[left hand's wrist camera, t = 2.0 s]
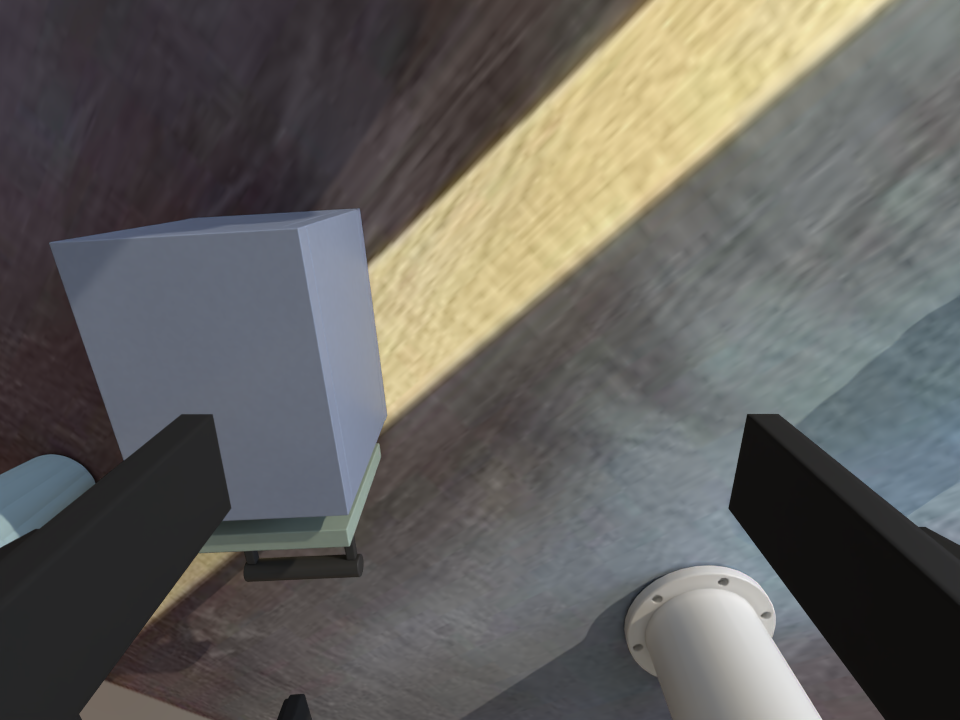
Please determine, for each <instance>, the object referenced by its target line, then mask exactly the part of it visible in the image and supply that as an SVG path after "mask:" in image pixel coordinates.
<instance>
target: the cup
mask: <svg viewBox="0 0 960 720" xmlns="http://www.w3.org/2000/svg"><path fill="white" fill-rule="evenodd" d="M94 484H95V481H94V479H93V477H92V475H91V474H90V473H89V472H88V471H87V469H86V468H84V467H83V466H82V465H81V464H79V463H78V462H76V461H74V460H72V459H70V458H68V457H65V456H61V455H55V454H48V455H42V456H38V457H36V458H33V459H31V460H29V461H27V462H25V463H23V464H21V465H19V466H17V467H15V468H13V469H11V470H9V471H7V472H5V473H3V474H1V475H0V548H1V547H2V546H4V545H6V544H8V543H10V542H12V541H14V540H15V539H17V538H19V537H21V536H23V535H25V534H27V533H29V532H30V531H32V530H34V529H40V528H41V527H42V526H44V525H45V524H46V523H47V522H48V521H50V520H51V519H52V518H53V517H55V516H56V515H57V514H58V513H60V512H61V511H62V510H63V509H65V508H66V507H67V506H68V505H70V504H71V503H72V502H73V501H74V500H76V499H77V498H78V497H79V496H81V495H82V494H83V493H84V492H86V491H87V490H88V489H89V488H91V487H92V486H93V485H94Z"/></svg>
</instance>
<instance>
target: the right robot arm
mask: <svg viewBox="0 0 960 720" xmlns="http://www.w3.org/2000/svg"><path fill="white" fill-rule="evenodd" d="M774 629H775V611H774V608H773V604H772V603H771V601H770V599H769V598H768V596H767V594H766V593H765V592H764V590H763V589H762V588H761V586H760V585H759V584H758V583H757V582H756V581H754V580H753V579H752V578H751V577H749V576H748V575H746V574H744V573H742V572H740V571H737V570H734V569H730V568H727V567H720V566H694V567H689V568H684V569H680V570H677V571H674V572H671V573H669V574H667V575H665V576H663V577H661V578H659V579H657V580H655V581H654V582H653V583H651V584H650V585H649V586H647V587H646V588H645V589H644V590H643V591H642V592H641V593H640V594H639V595H638V596H637V597H636V598H635V600H634V601H633V603H632V604H631V606H630V607H629V610H628V613H627V615H626V618H625V626H624V631H625V638H626V642H627V645H628V648H629V651H630V653H631V655H632V656H633V658H634V660H635V661H636V662H637V663H638V664H639V665H640V666H641V668H643V669H644V670H646V671H647V672H648V673H650V674H651V675H654V676H656V677H658V680H659V683H660V685H661V688H662V691H663V694H664V697H665V700H666V703H667V706H668V708H669V711H670V714H671V717H672V720H822V718H821V717H820V715H819V714H818V712H817V710H816V709H815V707H814V706H813V704H812V702H811V701H810V699H809V698H808V696H807V694H806V693H805V691H804V689H803V688H802V686H801V685H800V683H799V681H798V680H797V678H796V677H795V675H794V673H793V672H792V670H791V669H790V667H789V665H788V664H787V662H786V661H785V659H784V657H783V656H782V654H781V652H780V651H779V649H778V648H777V646H776V644H775V643H774V641H773V640H772V636H773V633H774ZM75 720H82V719H81V717H80V715H78V716H77V717H76V719H75ZM277 720H312V718H311V715H310V711H309V708H308V704H307V701H306V697H305V695H304V694H295V695H290V696H289V698H288V699H285V700H284V702H283V705H282V708H281V711H280V713H279V716H278V719H277Z"/></svg>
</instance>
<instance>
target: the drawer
mask: <svg viewBox="0 0 960 720" xmlns="http://www.w3.org/2000/svg"><path fill="white" fill-rule="evenodd" d="M380 458H381V453H380V446H379V443H376V445H375V447H374V450H373V452H372V455H371V458H370V460H369V463H368V465H367V468H366V471H365V473H364V476H363V478H362V481H361V483H360V486H359V489H358V491H357V494H356V496H355V499H354V502H353V504H352V507H351V510H350V512H349V515H343V516H321V517H299V518H277V519H256V520H234V521H222V522H221V523H220V525H219V526H218V527H217V529H216V530H215V531H214V533H213V534H212V535H211V537H210V538H209V539H208V541H207V542H206V543H205V545H204V546H203V547H202V549H201V550H200V551H199V553H215V552H238V551H244V553H245V557H246V561H247V562H246V564H245V567H244V579H245V581H247V582H253V581H276V580H299V579H322V578H345V577H360V576H361V575H362V572H363V556H362V554H357V550H356V544H355V538H354V533H355V530H356V527H357V524H358V521H359V518H360V515H361V513H362V510H363V507H364V504H365V501H366V498H367V495H368V493H369V490H370V487H371V484H372V481H373V478H374V475H375V472H376V470H377V467H378V464H379V461H380ZM327 547H345V552H346V555H325V556H303V557H280V558H259V556H258V552H257V551H260V550H283V549H305V548H327Z"/></svg>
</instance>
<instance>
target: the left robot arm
mask: <svg viewBox="0 0 960 720" xmlns="http://www.w3.org/2000/svg"><path fill="white" fill-rule="evenodd" d="M230 510H231V503H230V498H229V493H228V488H227V483H226V478H225V473H224V468H223V463H222V458H221V453H220V448H219V443H218V438H217V433H216V428H215V423H214V418H213V414H181V415H180V416H179V417H177V418H176V419H175V420H174V421H172V422H171V423H170V424H169V425H167V426H166V427H165V428H164V429H162V430H161V431H160V432H159V433H158V434H156V435H155V436H154V437H153V438H151V439H150V440H149V441H148V442H146V443H145V444H144V445H143V446H141V447H140V448H139V449H138V450H136V451H135V452H134V453H133V454H131V455H130V456H129V457H128V458H127V459H125V460H124V461H123V462H122V463H120V464H119V465H118V466H117V467H115V468H114V469H113V470H112V471H110V472H109V473H108V474H107V475H105V476H104V477H103V478H102V479H101V480H99V481H98V482H97V483H96V484H94V485H93V486H92V487H91V488H89V489H88V490H87V491H86V492H84V493H83V494H82V495H81V496H79V497H78V498H77V499H76V500H74V501H73V502H72V503H71V504H70V505H68V506H67V507H66V508H65V509H63V510H62V511H61V512H60V513H58V514H57V515H56V516H55V517H53V518H52V519H51V520H50V521H48V522H47V523H46V524H45V525H44V526H42V527H41V528H40V529H34V530H32V531H30V532H29V533H27V534H25V535H23V536H21V537H19V538H17V539H15V540H14V541H12V542H10V543H8V544H6V545H4V546H2V547H1V548H0V720H75V719H76V717H77V716H78V715H79V713H80V712H81V711H82V709H83V708H84V707H85V705H86V704H87V703H88V701H89V700H90V698H91V697H92V696H93V694H94V693H95V692H96V690H97V689H98V688H99V686H100V685H101V683H102V682H103V681H104V680H105V678H106V677H107V676H108V674H109V673H110V672H111V670H112V669H113V667H114V666H115V665H116V663H117V662H118V661H119V659H120V658H121V657H122V655H123V654H124V653H125V651H126V650H127V649H128V647H129V646H130V645H131V643H132V642H133V640H134V639H135V638H136V636H137V635H138V634H139V632H140V631H141V630H142V628H143V627H144V626H145V624H146V623H147V622H148V620H149V619H150V618H151V616H152V615H153V614H154V612H155V611H156V609H157V608H158V607H159V605H160V604H161V603H162V601H163V600H164V599H165V597H166V596H167V595H168V593H169V592H170V591H171V589H172V588H173V587H174V585H175V584H176V583H177V581H178V580H179V578H180V577H181V576H182V574H183V573H184V572H185V570H186V569H187V568H188V566H189V565H190V564H191V562H192V561H193V560H194V558H195V557H196V556H197V554H198V553H199V551H200V550H201V549H202V547H203V546H204V545H205V543H206V542H207V541H208V539H209V538H210V537H211V535H212V534H213V533H214V531H215V530H216V529H217V527H218V526H219V525H220V523H221V522H222V520H223V519H224V518H225V516H226V515H227V514H228V512H229V511H230ZM729 510H730V511H731V512H732V514H733V515H734V516H735V518H736V519H737V520H738V522H739V523H740V525H741V526H742V527H743V529H744V530H745V531H746V533H747V534H748V535H749V537H750V538H751V539H752V541H753V542H754V543H755V545H756V546H757V547H758V549H759V550H760V551H761V553H762V554H763V556H764V557H765V558H766V560H767V561H768V562H769V564H770V565H771V566H772V568H773V569H774V570H775V572H776V573H777V574H778V576H779V577H780V578H781V580H782V581H783V583H784V584H785V585H786V587H787V588H788V589H789V591H790V592H791V593H792V595H793V596H794V597H795V599H796V600H797V601H798V603H799V604H800V605H801V607H802V608H803V609H804V611H805V612H806V614H807V615H808V616H809V618H810V619H811V620H812V622H813V623H814V624H815V626H816V627H817V628H818V630H819V631H820V632H821V634H822V635H823V636H824V638H825V639H826V640H827V642H828V643H829V645H830V646H831V647H832V649H833V650H834V651H835V653H836V654H837V655H838V657H839V658H840V659H841V661H842V662H843V663H844V665H845V666H846V667H847V669H848V670H849V672H850V673H851V674H852V676H853V677H854V678H855V680H856V681H857V682H858V684H859V685H860V686H861V688H862V689H863V690H864V692H865V693H866V694H867V696H868V697H869V698H870V700H871V701H872V703H873V704H874V705H875V707H876V708H877V709H878V711H879V712H880V713H881V715H882V716H883V717H884V719H885V720H960V545H958V544H956V543H954V542H952V541H951V540H949V539H947V538H945V537H943V536H941V535H939V534H937V533H936V532H934V531H932V530H930V529H928V528H926V527H918V526H916V525H915V524H914V523H913V522H912V521H910V520H909V519H908V518H907V517H905V516H904V515H903V514H902V513H900V512H899V511H898V510H897V509H895V508H894V507H893V506H892V505H890V504H889V503H888V502H887V501H886V500H884V499H883V498H882V497H881V496H879V495H878V494H877V493H876V492H874V491H873V490H872V489H871V488H869V487H868V486H867V485H866V484H864V483H863V482H862V481H861V480H859V479H858V478H857V477H856V476H855V475H853V474H852V473H851V472H850V471H848V470H847V469H846V468H845V467H843V466H842V465H841V464H840V463H838V462H837V461H836V460H835V459H833V458H832V457H831V456H830V455H829V454H827V453H826V452H825V451H824V450H822V449H821V448H820V447H819V446H817V445H816V444H815V443H814V442H812V441H811V440H810V439H809V438H807V437H806V436H805V435H804V434H802V433H801V432H800V431H799V430H798V429H796V428H795V427H794V426H793V425H791V424H790V423H789V422H788V421H786V420H785V419H784V418H783V417H781V416H780V415H779V414H747V418H746V423H745V428H744V433H743V438H742V443H741V448H740V453H739V458H738V463H737V468H736V473H735V478H734V483H733V488H732V493H731V498H730V503H729Z"/></svg>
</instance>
